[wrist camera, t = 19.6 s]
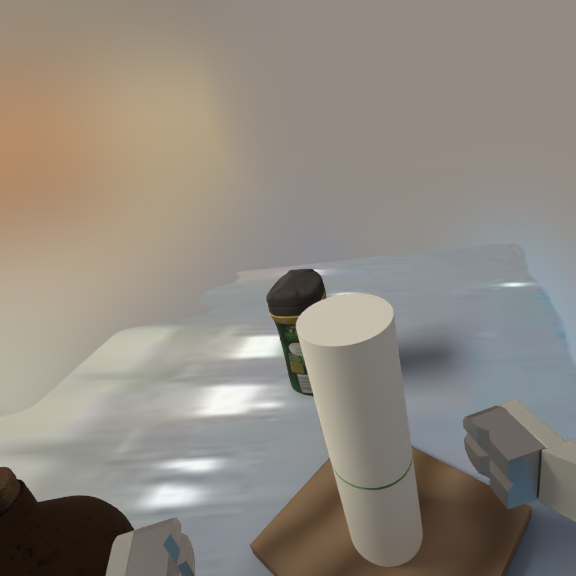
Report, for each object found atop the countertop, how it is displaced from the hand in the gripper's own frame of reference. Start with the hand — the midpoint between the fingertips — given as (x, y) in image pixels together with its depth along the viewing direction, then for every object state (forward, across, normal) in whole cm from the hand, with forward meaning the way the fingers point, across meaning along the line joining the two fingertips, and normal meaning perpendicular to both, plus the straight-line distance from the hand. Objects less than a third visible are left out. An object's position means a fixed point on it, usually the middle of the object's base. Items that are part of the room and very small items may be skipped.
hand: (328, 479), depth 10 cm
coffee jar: (+44, -5, +32) cm, 55 cm away
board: (+17, -5, +32) cm, 36 cm away
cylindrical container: (+17, -5, +31) cm, 35 cm away
